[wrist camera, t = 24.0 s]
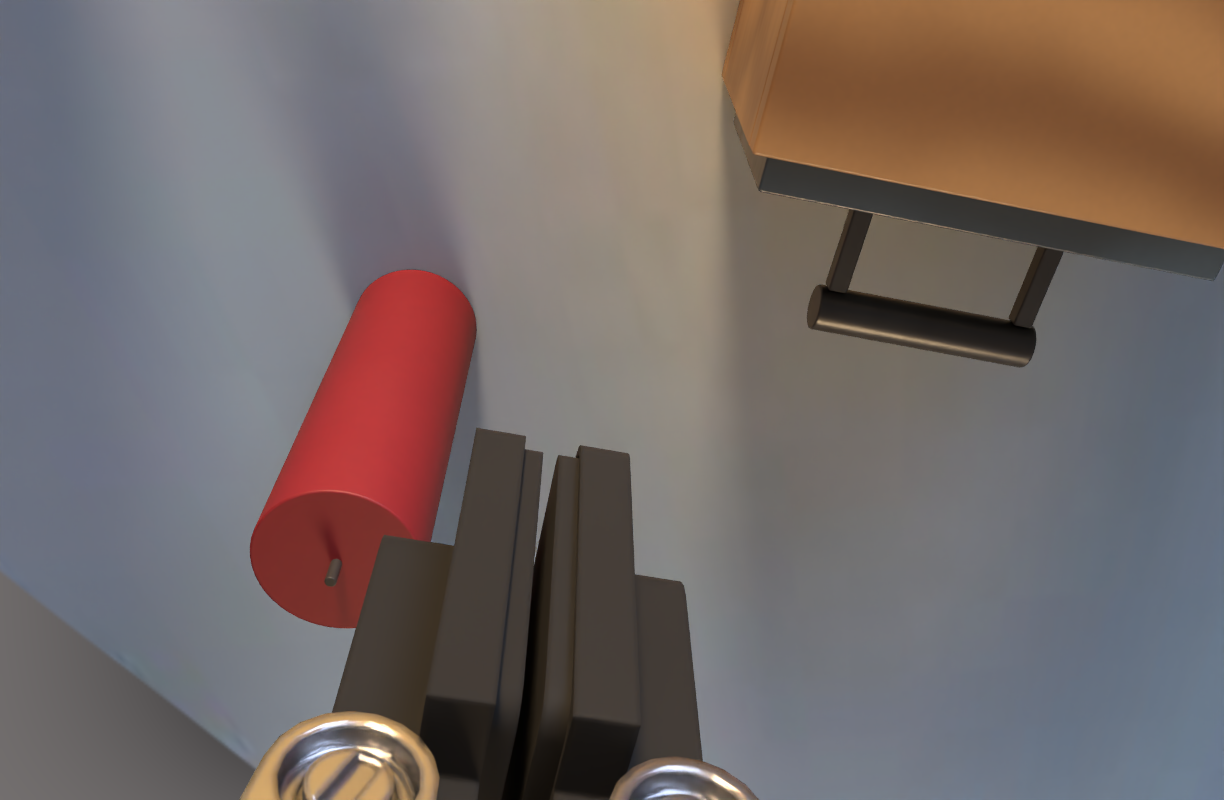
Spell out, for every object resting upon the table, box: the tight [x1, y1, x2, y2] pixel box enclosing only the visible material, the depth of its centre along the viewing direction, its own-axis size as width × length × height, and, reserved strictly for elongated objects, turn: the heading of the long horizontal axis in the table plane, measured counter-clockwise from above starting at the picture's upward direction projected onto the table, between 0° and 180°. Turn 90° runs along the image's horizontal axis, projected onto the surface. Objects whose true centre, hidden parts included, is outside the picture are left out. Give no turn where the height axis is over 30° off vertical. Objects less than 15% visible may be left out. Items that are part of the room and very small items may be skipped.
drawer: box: [733, 113, 1224, 367], centre depth 32 cm, size 18×13×7 cm
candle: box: [250, 270, 477, 628], centre depth 34 cm, size 4×4×15 cm
